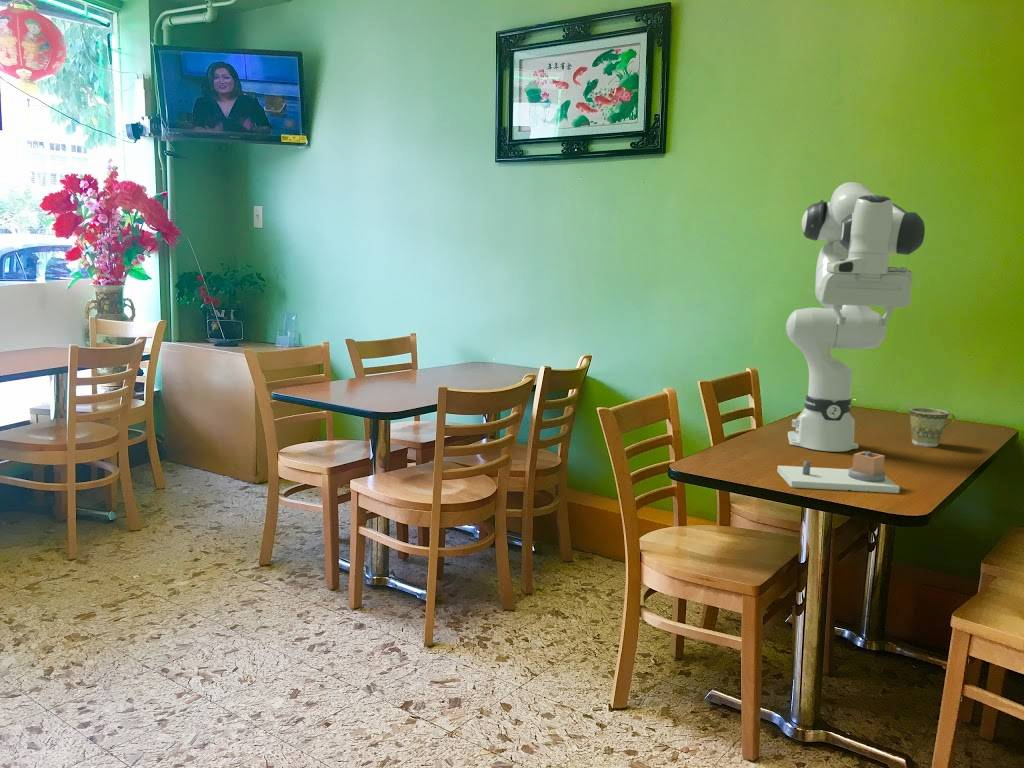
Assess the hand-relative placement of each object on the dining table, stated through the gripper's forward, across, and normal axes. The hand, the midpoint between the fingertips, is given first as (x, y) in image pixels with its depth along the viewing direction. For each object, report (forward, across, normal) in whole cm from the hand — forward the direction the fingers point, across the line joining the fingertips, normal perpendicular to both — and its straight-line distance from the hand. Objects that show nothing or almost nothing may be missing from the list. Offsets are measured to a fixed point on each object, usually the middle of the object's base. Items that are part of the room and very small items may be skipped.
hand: (861, 325), depth 192 cm
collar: (+34, -3, +5) cm, 35 cm away
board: (+37, +4, +5) cm, 38 cm away
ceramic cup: (+37, -37, -43) cm, 68 cm away
